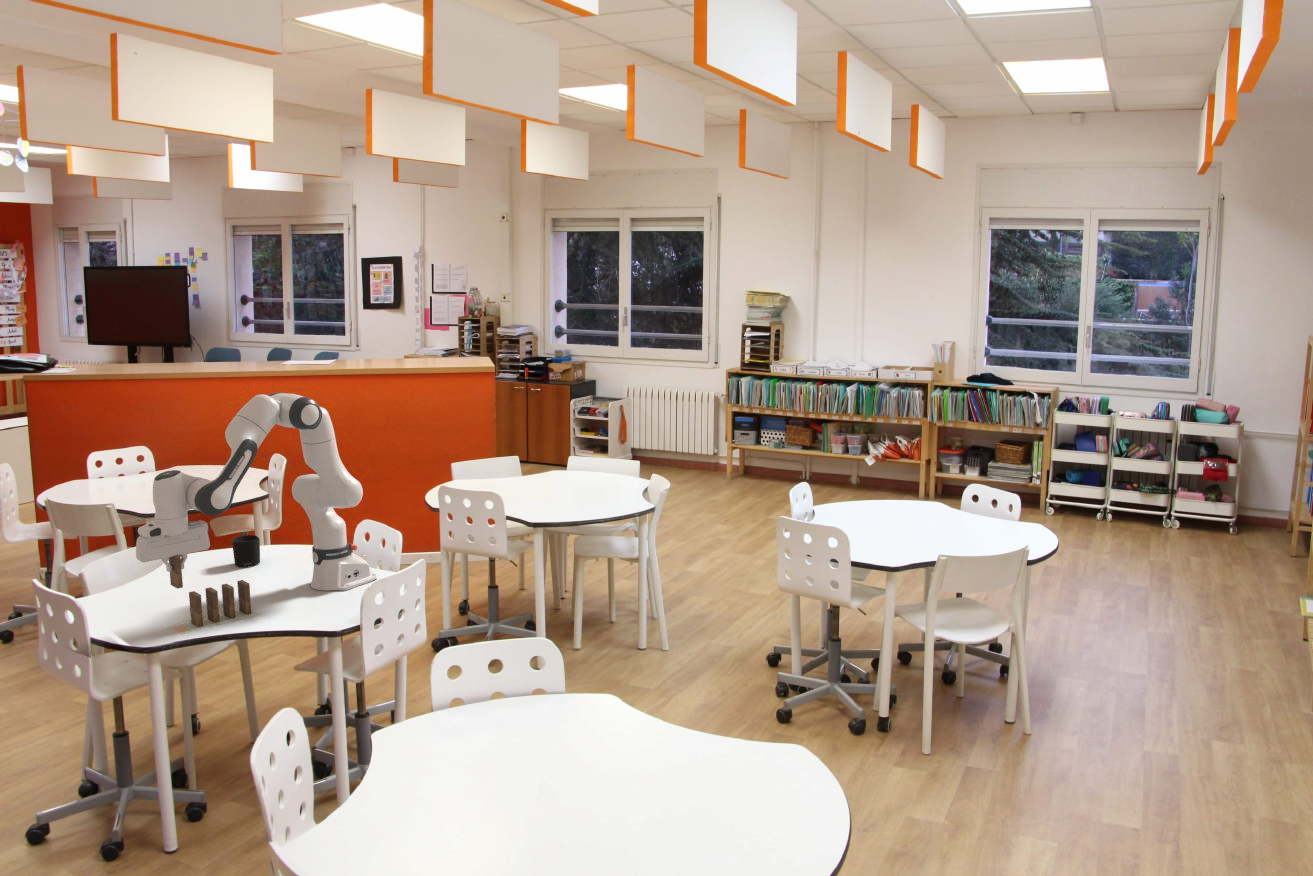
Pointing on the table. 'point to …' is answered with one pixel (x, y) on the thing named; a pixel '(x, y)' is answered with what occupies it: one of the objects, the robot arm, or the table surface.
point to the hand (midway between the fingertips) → (175, 569)
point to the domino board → (209, 622)
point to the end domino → (176, 572)
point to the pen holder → (246, 550)
